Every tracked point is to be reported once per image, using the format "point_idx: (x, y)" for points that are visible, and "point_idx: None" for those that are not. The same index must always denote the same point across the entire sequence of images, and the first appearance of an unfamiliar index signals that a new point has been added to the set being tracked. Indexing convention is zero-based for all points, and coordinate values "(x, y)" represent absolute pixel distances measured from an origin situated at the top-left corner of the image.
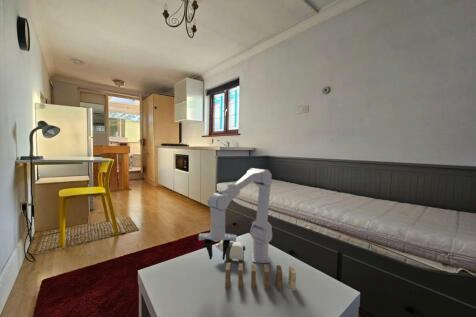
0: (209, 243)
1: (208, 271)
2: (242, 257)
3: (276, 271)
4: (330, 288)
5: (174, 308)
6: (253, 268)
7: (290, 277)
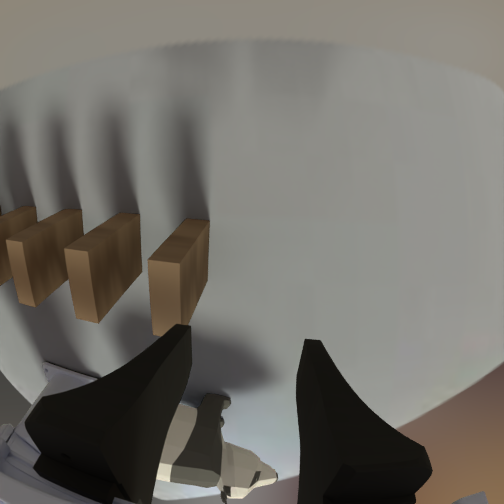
0: (354, 482)
1: None
2: None
3: None
4: None
5: (455, 88)
6: (18, 263)
7: None
